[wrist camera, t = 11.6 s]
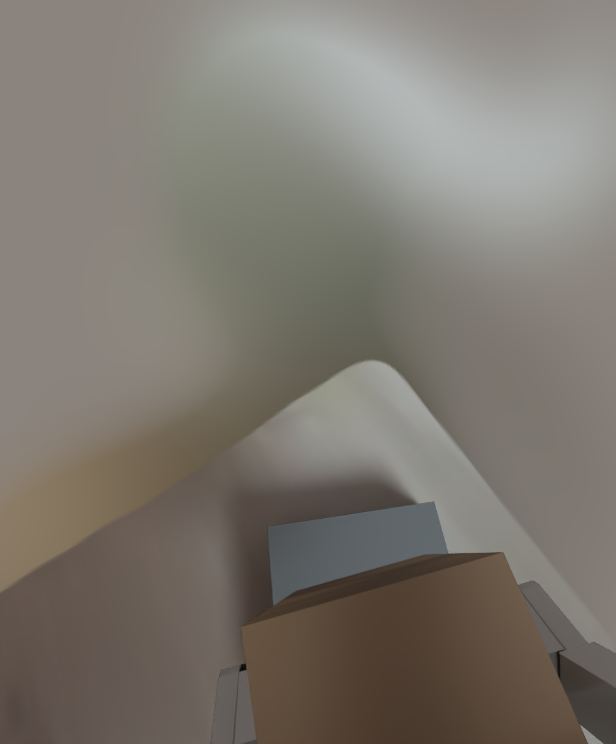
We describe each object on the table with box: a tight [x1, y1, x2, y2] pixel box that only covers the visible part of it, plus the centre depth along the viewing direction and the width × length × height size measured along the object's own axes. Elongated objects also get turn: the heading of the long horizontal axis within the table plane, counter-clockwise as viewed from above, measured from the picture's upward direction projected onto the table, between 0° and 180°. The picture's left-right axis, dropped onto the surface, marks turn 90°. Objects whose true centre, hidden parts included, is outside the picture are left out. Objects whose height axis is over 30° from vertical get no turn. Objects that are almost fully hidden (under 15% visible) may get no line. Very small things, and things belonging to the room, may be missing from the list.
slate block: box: [267, 502, 448, 606], centre depth 22 cm, size 10×10×4 cm
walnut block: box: [241, 552, 588, 744], centre depth 10 cm, size 5×4×8 cm
